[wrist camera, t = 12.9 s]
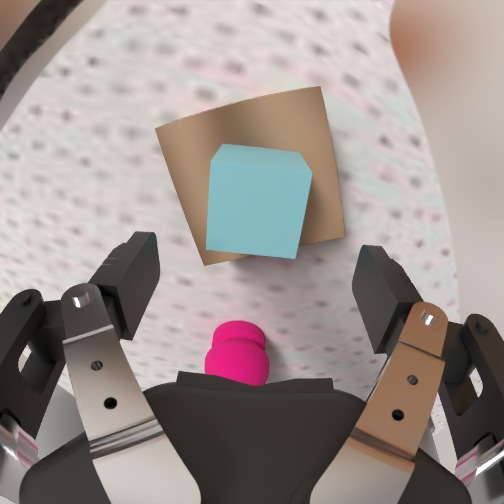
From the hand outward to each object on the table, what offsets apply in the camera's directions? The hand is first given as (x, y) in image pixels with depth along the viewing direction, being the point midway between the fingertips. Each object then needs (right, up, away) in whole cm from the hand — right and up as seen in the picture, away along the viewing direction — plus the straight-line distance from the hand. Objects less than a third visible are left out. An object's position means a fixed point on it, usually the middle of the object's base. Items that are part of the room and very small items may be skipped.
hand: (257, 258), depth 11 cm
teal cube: (0, +5, +8) cm, 10 cm away
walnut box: (0, +8, +13) cm, 16 cm away
